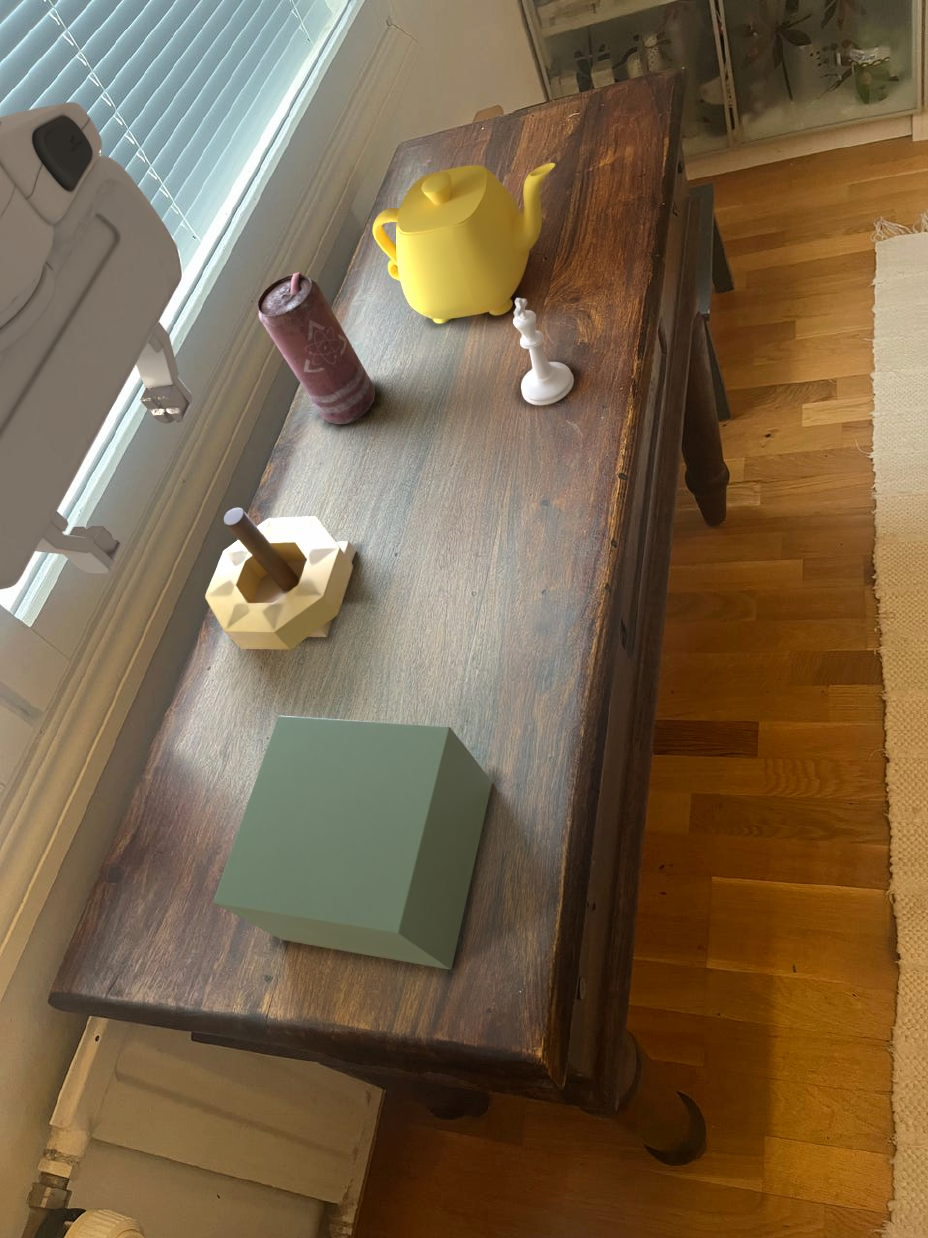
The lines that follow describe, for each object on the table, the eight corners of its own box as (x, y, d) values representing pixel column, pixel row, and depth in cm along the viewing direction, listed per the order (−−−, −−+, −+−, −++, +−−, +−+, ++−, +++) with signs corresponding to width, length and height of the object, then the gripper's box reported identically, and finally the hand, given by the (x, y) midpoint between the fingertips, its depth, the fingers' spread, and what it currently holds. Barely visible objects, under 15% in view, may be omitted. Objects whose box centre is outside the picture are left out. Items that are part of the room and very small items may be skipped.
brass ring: (326, 650, 76) (311, 632, 73) (208, 648, 80) (190, 631, 78) (364, 534, 81) (350, 514, 79) (251, 537, 86) (236, 519, 84)
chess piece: (582, 369, 86) (555, 281, 78) (560, 408, 84) (531, 322, 76) (535, 364, 88) (505, 278, 80) (513, 402, 86) (480, 318, 78)
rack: (327, 637, 78) (262, 562, 70) (239, 635, 82) (167, 563, 73) (356, 550, 83) (299, 469, 74) (271, 552, 86) (207, 475, 78)
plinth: (451, 970, 60) (398, 933, 53) (281, 940, 65) (212, 902, 58) (492, 781, 66) (450, 726, 59) (334, 767, 71) (277, 715, 64)
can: (383, 376, 95) (322, 263, 84) (369, 423, 91) (304, 311, 80) (331, 384, 97) (265, 274, 86) (315, 429, 94) (245, 321, 83)
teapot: (417, 259, 104) (371, 154, 94) (592, 229, 96) (562, 112, 86) (389, 346, 97) (336, 243, 87) (575, 320, 90) (541, 204, 80)
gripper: (-169, 453, 29) (108, 668, 40) (98, 80, 39) (262, 334, 50) (-290, 464, 31) (2, 664, 42) (-11, 110, 41) (168, 346, 52)
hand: (144, 483), depth 46 cm, fingers open, 8 cm apart
